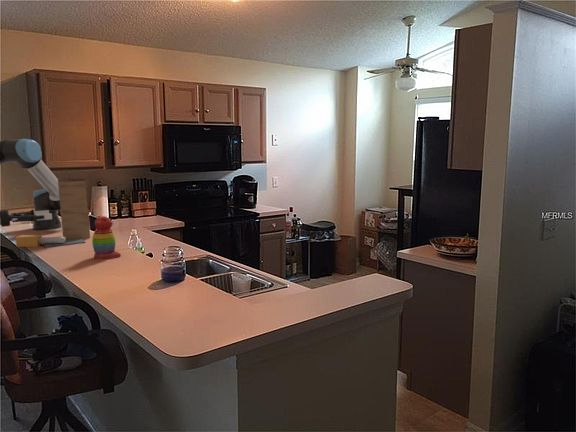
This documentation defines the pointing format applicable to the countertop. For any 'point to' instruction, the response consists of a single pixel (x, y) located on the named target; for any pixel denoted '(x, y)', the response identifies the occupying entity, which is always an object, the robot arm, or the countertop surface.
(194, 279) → the countertop surface
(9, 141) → the robot arm
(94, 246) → the stacking bear
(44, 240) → the screwdriver
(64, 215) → the stand
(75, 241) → the mat
